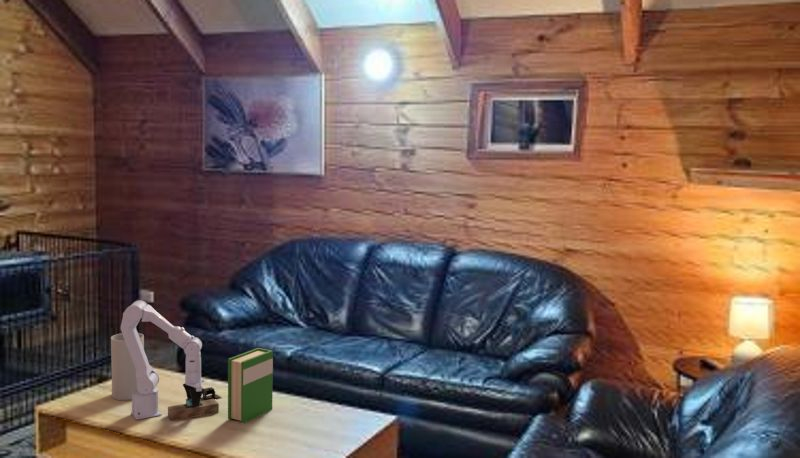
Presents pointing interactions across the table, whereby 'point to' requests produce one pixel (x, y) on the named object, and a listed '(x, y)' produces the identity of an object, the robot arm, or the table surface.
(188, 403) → the teal rectangular block
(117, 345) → the cylinder vase
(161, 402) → the table surface
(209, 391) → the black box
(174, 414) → the slotted beam
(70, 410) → the table surface
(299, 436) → the table surface
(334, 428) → the table surface
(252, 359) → the hardback book
